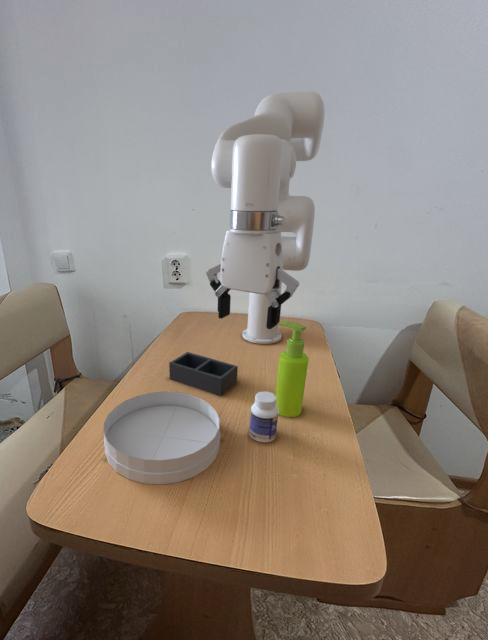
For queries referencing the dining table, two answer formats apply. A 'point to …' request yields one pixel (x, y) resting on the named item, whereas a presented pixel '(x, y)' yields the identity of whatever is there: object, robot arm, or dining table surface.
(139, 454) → the dish
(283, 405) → the soap dispenser
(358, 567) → the dining table surface
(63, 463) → the dining table surface
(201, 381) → the holder
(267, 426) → the pill bottle
